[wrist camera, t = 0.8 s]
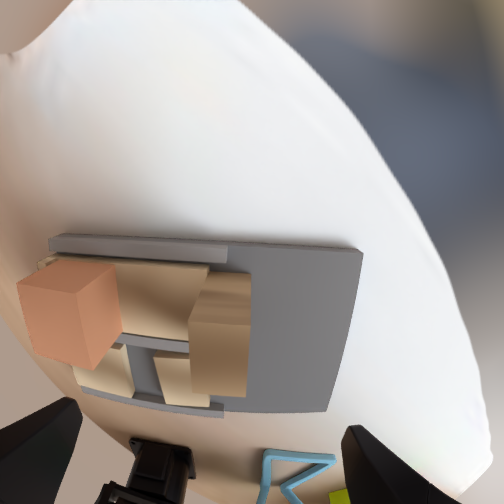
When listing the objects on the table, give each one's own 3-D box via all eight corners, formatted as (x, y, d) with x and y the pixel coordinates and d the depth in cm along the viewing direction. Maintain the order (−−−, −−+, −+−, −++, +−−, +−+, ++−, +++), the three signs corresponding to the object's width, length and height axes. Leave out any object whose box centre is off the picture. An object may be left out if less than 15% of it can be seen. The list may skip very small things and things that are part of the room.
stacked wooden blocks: (247, 336, 17) (245, 403, 12) (65, 313, 17) (18, 355, 11) (251, 267, 16) (251, 316, 10) (55, 253, 16) (-3, 282, 10)
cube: (123, 330, 16) (93, 370, 12) (69, 320, 16) (35, 353, 12) (115, 264, 15) (75, 293, 11) (59, 259, 15) (16, 283, 11)
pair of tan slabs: (210, 401, 19) (209, 410, 18) (82, 377, 19) (77, 384, 18) (209, 351, 18) (207, 360, 17) (69, 329, 17) (62, 335, 17)
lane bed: (323, 403, 20) (328, 418, 19) (91, 380, 20) (83, 392, 18) (357, 249, 17) (368, 257, 15) (63, 233, 17) (48, 239, 15)
